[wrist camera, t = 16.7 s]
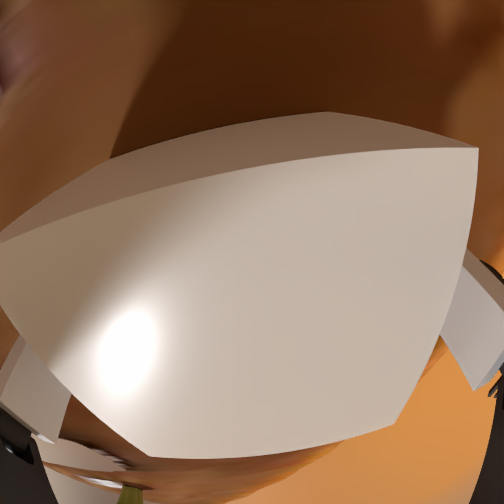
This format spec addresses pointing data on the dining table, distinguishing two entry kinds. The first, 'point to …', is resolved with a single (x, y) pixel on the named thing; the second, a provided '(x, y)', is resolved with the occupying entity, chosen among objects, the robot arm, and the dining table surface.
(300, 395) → the off-white square block
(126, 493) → the plant pot
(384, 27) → the dining table surface
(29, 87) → the dining table surface
